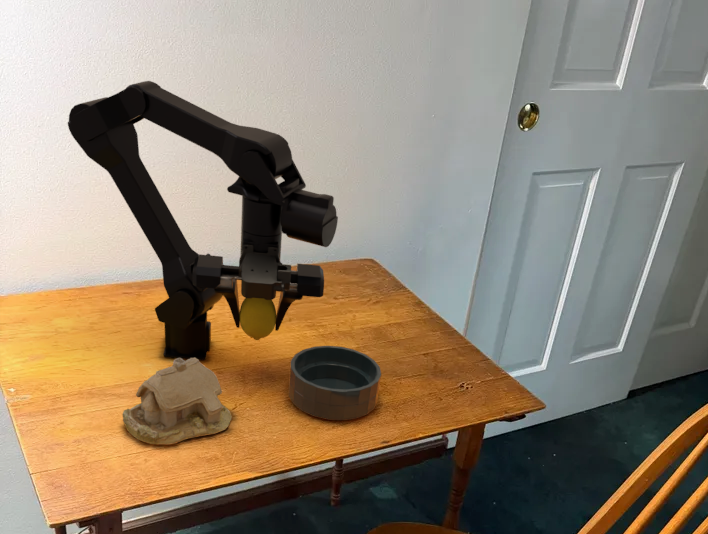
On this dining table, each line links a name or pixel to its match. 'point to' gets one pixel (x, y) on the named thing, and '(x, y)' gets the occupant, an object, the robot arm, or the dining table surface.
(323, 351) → the grey pet bowl
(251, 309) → the lemon
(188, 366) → the ceramic model
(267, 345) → the dining table surface
